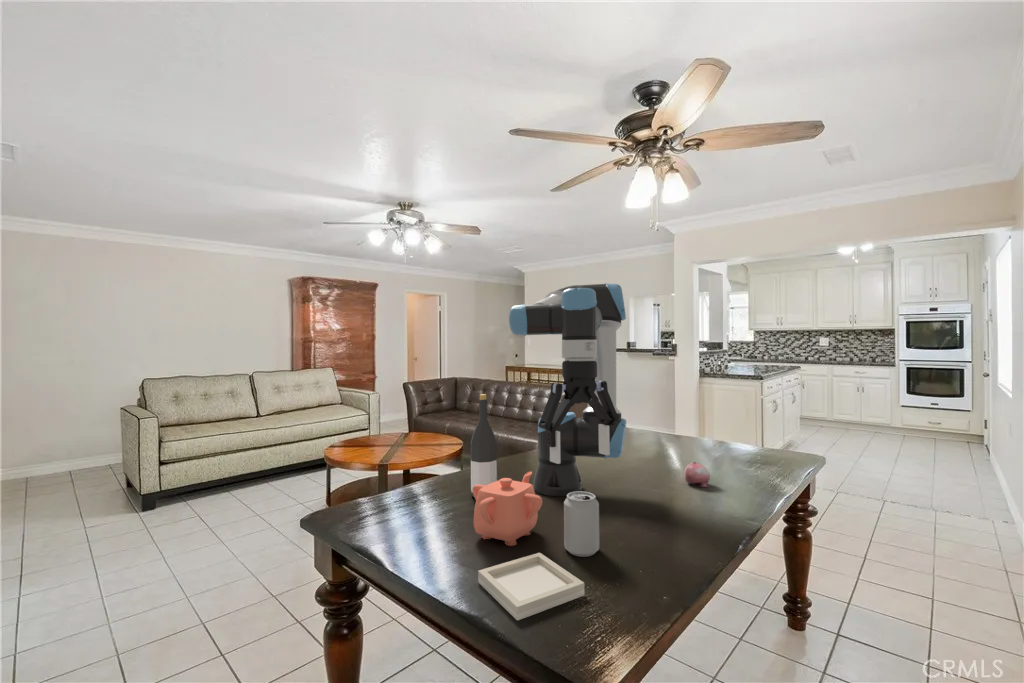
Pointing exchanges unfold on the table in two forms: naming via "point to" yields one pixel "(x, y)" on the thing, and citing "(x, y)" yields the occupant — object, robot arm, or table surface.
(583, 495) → the can
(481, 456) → the wine bottle
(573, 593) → the coaster
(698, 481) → the pomegranate
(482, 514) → the pink kettle
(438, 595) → the table surface
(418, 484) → the table surface
